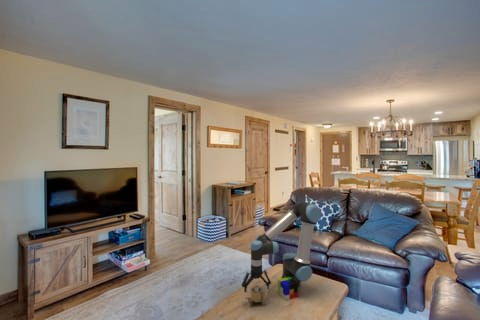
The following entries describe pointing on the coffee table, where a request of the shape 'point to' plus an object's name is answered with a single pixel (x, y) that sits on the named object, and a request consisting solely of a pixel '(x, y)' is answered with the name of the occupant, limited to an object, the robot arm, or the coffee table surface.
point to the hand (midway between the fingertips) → (256, 295)
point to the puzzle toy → (287, 288)
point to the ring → (256, 295)
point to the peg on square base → (256, 304)
